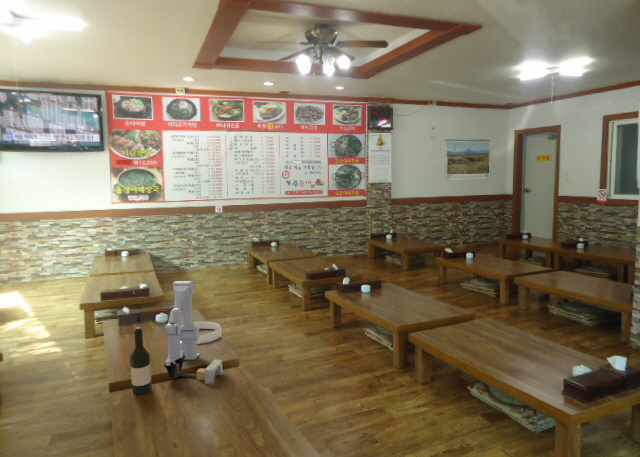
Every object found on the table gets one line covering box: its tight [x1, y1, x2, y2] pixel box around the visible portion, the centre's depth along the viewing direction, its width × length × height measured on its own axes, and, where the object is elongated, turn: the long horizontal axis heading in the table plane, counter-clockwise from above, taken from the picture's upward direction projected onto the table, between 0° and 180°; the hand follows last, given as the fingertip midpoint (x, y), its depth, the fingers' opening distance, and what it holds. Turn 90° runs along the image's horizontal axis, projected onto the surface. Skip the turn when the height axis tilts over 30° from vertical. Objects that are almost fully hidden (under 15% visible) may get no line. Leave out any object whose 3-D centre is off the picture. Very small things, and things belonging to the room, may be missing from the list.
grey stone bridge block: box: [204, 359, 224, 385], centre depth 219 cm, size 4×12×7 cm, turn 171°
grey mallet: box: [170, 362, 206, 381], centre depth 221 cm, size 19×4×6 cm, turn 81°
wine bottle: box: [129, 326, 153, 396], centre depth 207 cm, size 8×8×30 cm
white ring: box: [193, 320, 223, 345], centre depth 279 cm, size 27×27×6 cm
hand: (175, 373), depth 223 cm, fingers open, 7 cm apart
